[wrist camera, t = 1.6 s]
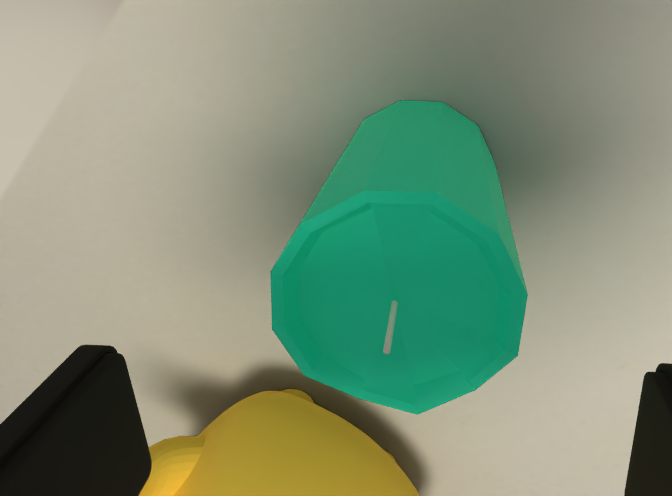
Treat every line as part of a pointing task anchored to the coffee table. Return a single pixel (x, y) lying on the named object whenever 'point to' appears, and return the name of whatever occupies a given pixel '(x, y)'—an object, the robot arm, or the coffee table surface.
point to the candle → (404, 265)
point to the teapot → (275, 454)
